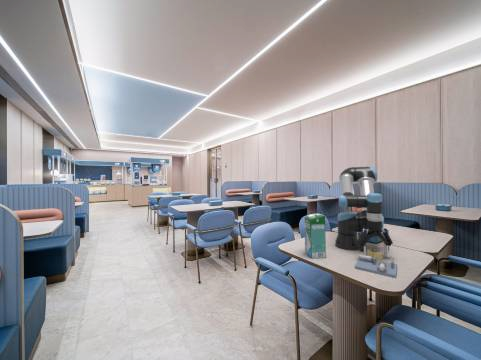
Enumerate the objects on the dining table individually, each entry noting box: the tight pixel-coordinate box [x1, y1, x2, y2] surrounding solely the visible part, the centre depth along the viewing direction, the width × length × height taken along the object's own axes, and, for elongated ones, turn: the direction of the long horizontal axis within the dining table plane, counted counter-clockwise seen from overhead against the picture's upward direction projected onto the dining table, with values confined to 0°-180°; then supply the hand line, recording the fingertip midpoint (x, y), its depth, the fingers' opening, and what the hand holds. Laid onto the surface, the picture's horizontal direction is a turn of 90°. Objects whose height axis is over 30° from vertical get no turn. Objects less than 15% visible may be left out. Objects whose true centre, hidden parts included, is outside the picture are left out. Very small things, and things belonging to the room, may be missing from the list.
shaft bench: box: [354, 253, 398, 279], centre depth 107 cm, size 17×16×4 cm
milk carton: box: [304, 213, 327, 259], centre depth 125 cm, size 9×9×25 cm
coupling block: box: [366, 248, 383, 261], centre depth 118 cm, size 5×5×6 cm
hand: (374, 257), depth 117 cm, fingers open, 13 cm apart
